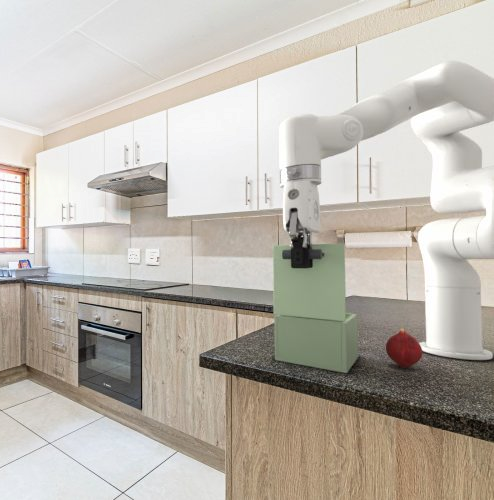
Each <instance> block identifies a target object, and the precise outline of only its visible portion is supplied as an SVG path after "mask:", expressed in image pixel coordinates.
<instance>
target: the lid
mask: <svg viewBox="0 0 494 500" xmlns="http://www.w3.org/2000/svg"><path fill="white" fill-rule="evenodd" d="M272 252H273V253H272V268H273V269H272V274H273V275H272V276H273V278H272V279H273V281H272V283H273V284H272V286H273V287H272V289H273V290H272V291H273V293H272V294H273V299H272V300H273V315H275V316H276V315H286V316H296V317H306V318H316V319H326V320H336V321H346V313H347V304H346V303H347V302H346V301H347V299H346V298H347V297H346V293H347V292H346V291H347V289H346V244H345V243H321V244H320V243H317V244H316V243H315V244H313V243H312V249H309V259H313V267H312V268H306V269H304V268H291V247H290V244H278V245H275V244H274V245H272Z"/></svg>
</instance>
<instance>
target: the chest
mask: <svg viewBox="0 0 494 500" xmlns="http://www.w3.org/2000/svg"><path fill="white" fill-rule="evenodd" d="M273 317H274V320H273V321H274V322H273V323H274V324H273V325H274V360H275V361H279V362H283V363H289V364H294V365H300V366H305V367H310V368H317V369H320V370H327V371H331V372H337V373H343V374H347V373H348V372H349V371H350V370H351V368H353V367H352V366H353V365H354V364H355V362H357V360H358V358H359V325H358V324H359V321H358V318H359V317H358V313H350V312H346V321H336V320H326V319H316V318H306V317H296V316H286V315H276V314H275V315H274V316H273Z"/></svg>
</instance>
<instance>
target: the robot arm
mask: <svg viewBox="0 0 494 500" xmlns="http://www.w3.org/2000/svg"><path fill="white" fill-rule="evenodd" d="M408 120H410V126H411V130H412V132H413V133H414V135H415V136H416V137H417V138H418V139H419V140H420V141H421V142H422V143H423V145H424V146H425V147H426V148H427V150H428V152H429V153H430V155H431V158H432V170H431V183H430V192H429V193H430V194H429V195H430V196H429V201H430V206H431V208H432V210H434V211H435V212H437V213H438V214H445V215H447V214H449V215H451V214H453V215H454V214H464V213H475V212H485V215H477V216H462V217H452V218H442V219H437V220H434V221H430V222H428V223H426V224H424V225H423V226H422V227H421V228H420V230H419V231H418V234H417V243H418V248H419V251H420V254H421V259H422V265H423V273H424V307H425V308H424V309H425V313H424V314H425V341H421V342H418V343H419V344H420V346H421V348H422V352H423V353H428V354H431V355H435V356H440V357H443V358H444V357H445V358H450V359H458V360H467V361H489V360H492V359H493V358H494V353H493V352H492V351H490V350H488V349H486V348H483V326H482V325H483V322H482V321H483V320H482V288H481V287H482V285H481V282H482V281H481V278H480V275H479V273H478V272H477V270H476V269H475V267H473V265H472V264H471V263H470V262H469V260H494V165H491V166H485V167H483V149H482V148H481V146H480V145H479V144H478V143H477V142H476V141H474V140H473V139H471V138H470V137H469V136H466V134H463V133H462V131H465V130H469V129H472V128H476V127H479V126H482V125H486V124H489V123H492V122H494V77H492V76H490V75H488V74H487V73H485V72H484V71H481V70H480V69H478V68H477V67H474V66H472V65H470V64H468V63H464V62H462V61H457V60H447V61H443V62H440V63H438V64H436V65H433V66H432V67H429V68H427V69H425V70H423V71H421V72H419V73H417V74H415V75H413V76H410V77H408V78H406V79H404V80H402V81H399V82H398V83H397V82H396V83H395V84H393V85H391V86H389V87H387V88H385V89H383V90H381V91H378V92H376V93H374V94H372V95H370V96H368V97H366V98H364V99H362V100H360V101H358V102H356V103H354V104H352V105H351V106H349V107H348V108H346V109H344V110H342V111H340V112H339V113H337V114H333V115H332V114H331V115H322V116H321V115H320V116H319V115H315V114H312V113H299V114H295V115H292V116H289V117H287V118H285V119H284V120H283V121H282V122H280V125H279V127H278V142H279V143H278V145H279V146H278V152H279V153H278V154H279V157H278V159H279V187H280V188H281V189H283V196H282V197H283V198H282V199H283V201H282V221H283V222H282V223H283V230H284V232H287V233H288V236H289V243H290V244H289V245H290V247H291V268H304V269H306V268H312V267H313V259H309V249H312V244H313V233H314V234H319V233H320V232H322V217H321V205H320V203H321V202H320V194H319V187H318V186H320V185H321V184H322V160H324V159H328V158H330V157H334V156H337V155H341V154H344V153H345V152H348V151H351V150H352V149H353V148H355V147H357V146H358V145H359V144H360V143H361V142H363V141H366V140H369V139H371V138H373V137H377V136H378V135H382V134H383V133H385V132H387V131H389V130H391V129H393V128H395V127H397V126H399V125H401V124H402V123H404V122H406V121H408Z"/></svg>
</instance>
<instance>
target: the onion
mask: <svg viewBox="0 0 494 500" xmlns="http://www.w3.org/2000/svg"><path fill="white" fill-rule="evenodd" d="M406 330H407V329H405V328H400V329H399V331H398V332H397V333H396V334H393V335H392V336H390V337H389V338H388V340H387V341H386V343H385V352H386V354H387V356H388V357H389V359H390V360H391V361H393V363H395V364H397V365H398V366H399V367H400V368H402V369H408V368H409V367H412V366H414V365H415V364H417V363H419V362H420V360H421V359H422V357H423V351H422V348H421V346H420V344H419V343H420V342H419V341H418V340H417V339H416V338H414V336H412V335H411V334H409V333H408V332H407V331H406Z"/></svg>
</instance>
